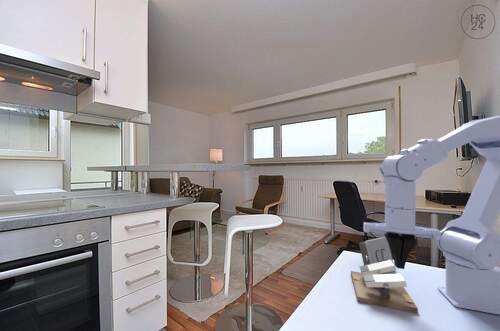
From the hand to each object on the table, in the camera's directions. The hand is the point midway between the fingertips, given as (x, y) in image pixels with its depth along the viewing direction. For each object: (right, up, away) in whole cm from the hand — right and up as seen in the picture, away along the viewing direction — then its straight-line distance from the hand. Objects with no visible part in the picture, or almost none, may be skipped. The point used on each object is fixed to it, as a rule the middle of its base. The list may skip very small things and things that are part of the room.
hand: (399, 266), depth 49 cm
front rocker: (-3, -4, +1) cm, 5 cm away
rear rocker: (-1, -4, +7) cm, 8 cm away
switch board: (-2, -8, +4) cm, 9 cm away
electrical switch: (+4, -9, +16) cm, 19 cm away
